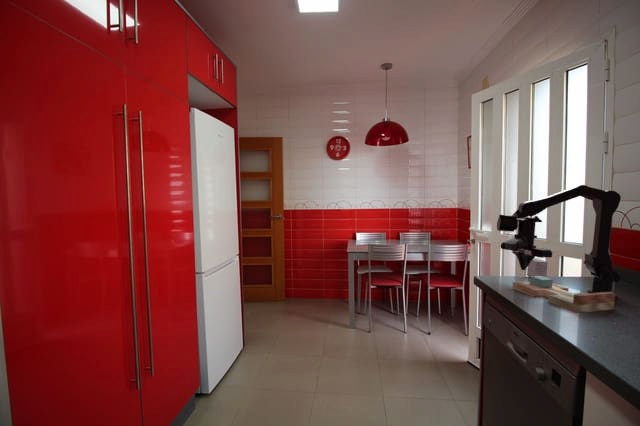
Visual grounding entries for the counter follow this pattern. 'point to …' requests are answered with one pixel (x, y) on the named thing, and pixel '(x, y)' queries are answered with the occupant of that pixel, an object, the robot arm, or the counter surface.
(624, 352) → the counter surface
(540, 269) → the medicine box
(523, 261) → the robot arm
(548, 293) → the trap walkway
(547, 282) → the teal block
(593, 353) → the counter surface
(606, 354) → the counter surface
